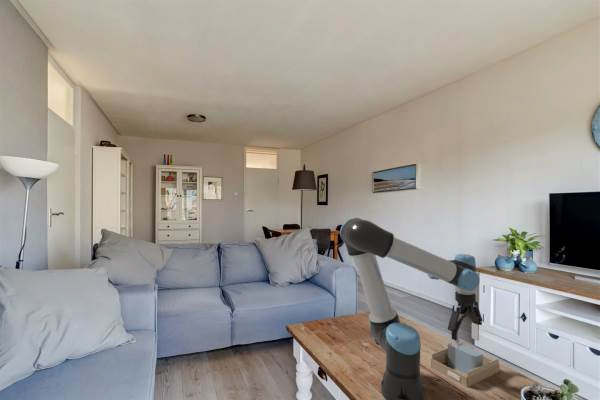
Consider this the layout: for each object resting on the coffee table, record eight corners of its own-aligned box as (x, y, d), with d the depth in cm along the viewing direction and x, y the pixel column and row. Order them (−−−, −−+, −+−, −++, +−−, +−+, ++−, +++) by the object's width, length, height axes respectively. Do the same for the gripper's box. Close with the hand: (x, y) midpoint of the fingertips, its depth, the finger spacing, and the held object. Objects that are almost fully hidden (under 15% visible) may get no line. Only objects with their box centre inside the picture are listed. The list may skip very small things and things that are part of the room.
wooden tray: (466, 388, 113) (466, 372, 113) (430, 368, 127) (430, 354, 127) (499, 372, 124) (499, 358, 124) (462, 355, 138) (462, 342, 138)
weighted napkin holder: (475, 379, 119) (475, 357, 119) (447, 365, 129) (447, 344, 129) (482, 376, 121) (482, 353, 121) (454, 362, 132) (455, 341, 132)
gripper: (455, 299, 116) (455, 354, 116) (491, 289, 128) (491, 339, 128) (437, 294, 123) (438, 346, 123) (474, 285, 135) (474, 332, 135)
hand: (465, 343), depth 125 cm, fingers open, 13 cm apart
